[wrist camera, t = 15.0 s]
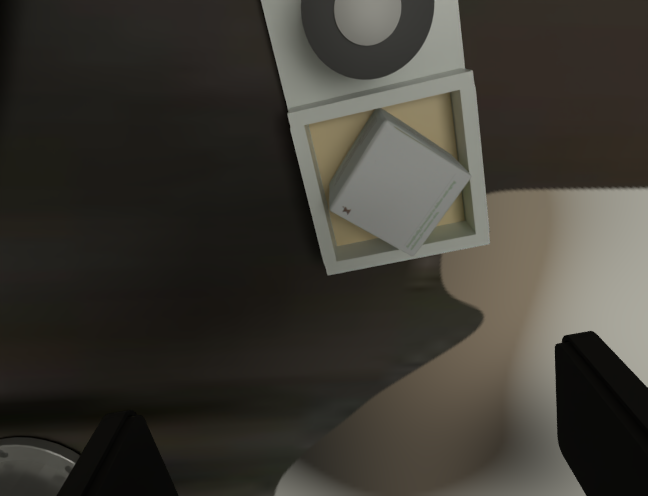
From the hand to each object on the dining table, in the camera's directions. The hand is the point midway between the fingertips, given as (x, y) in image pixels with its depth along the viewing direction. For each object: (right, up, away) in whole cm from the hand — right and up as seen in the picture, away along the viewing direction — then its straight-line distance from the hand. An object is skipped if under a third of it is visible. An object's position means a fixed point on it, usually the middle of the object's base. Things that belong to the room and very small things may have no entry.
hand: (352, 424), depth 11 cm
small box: (+3, +9, +19) cm, 21 cm away
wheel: (+1, +17, +15) cm, 22 cm away
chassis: (+2, +13, +19) cm, 23 cm away
